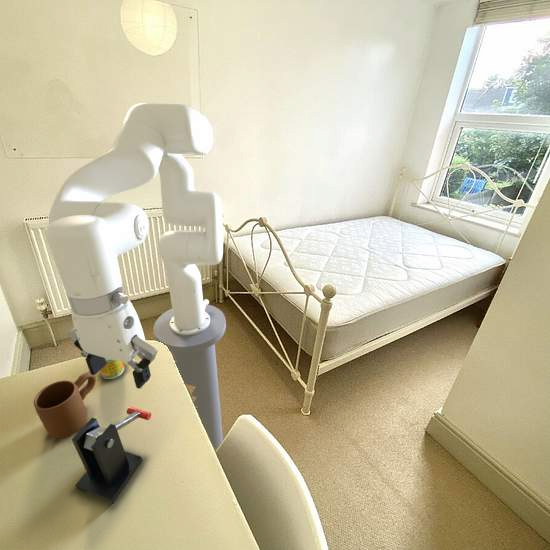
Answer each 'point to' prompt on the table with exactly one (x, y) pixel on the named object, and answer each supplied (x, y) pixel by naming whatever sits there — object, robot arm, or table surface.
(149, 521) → the table surface
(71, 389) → the mug
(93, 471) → the bracket
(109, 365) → the supplement bottle
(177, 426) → the table surface
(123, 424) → the lever
